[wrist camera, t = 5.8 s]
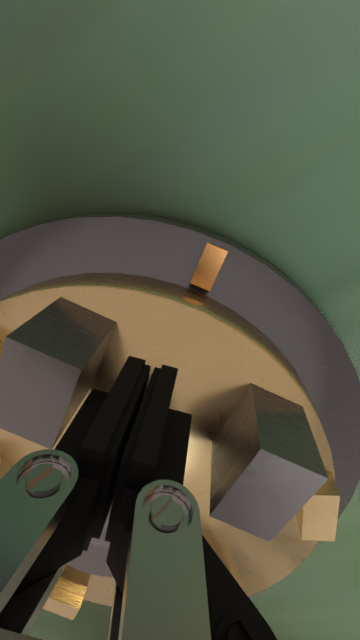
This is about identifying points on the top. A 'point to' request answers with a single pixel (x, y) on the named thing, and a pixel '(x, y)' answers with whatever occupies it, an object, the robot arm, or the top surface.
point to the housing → (215, 282)
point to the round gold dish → (188, 396)
